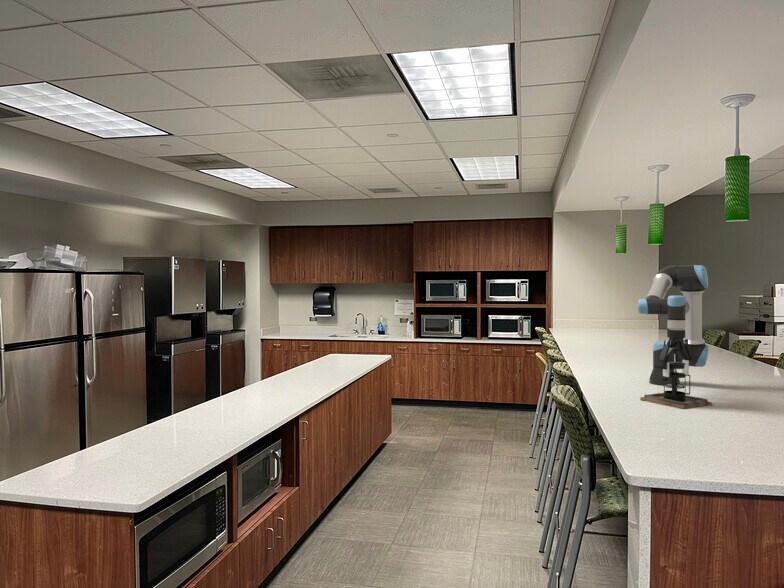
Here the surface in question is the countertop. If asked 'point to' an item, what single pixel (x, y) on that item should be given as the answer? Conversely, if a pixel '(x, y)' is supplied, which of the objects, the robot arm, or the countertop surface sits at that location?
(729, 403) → the countertop surface
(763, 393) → the countertop surface
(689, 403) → the serving board
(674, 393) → the french press
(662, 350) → the robot arm
